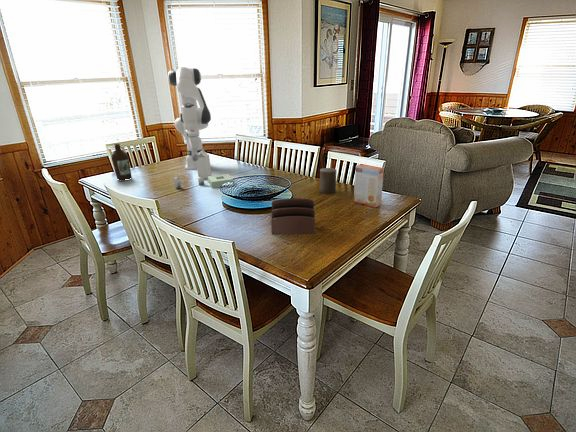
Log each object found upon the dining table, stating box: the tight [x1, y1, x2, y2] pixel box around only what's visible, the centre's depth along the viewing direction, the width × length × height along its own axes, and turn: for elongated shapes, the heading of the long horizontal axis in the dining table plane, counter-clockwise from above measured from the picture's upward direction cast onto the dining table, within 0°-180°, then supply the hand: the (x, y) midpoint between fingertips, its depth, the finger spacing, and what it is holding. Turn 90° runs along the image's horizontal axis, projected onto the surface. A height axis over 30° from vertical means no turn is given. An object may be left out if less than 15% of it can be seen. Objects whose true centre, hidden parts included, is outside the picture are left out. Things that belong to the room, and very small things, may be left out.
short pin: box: [197, 177, 205, 187], centre depth 224 cm, size 4×4×5 cm
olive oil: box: [111, 142, 133, 180], centre depth 235 cm, size 11×11×25 cm
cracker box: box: [353, 163, 385, 209], centre depth 183 cm, size 14×6×21 cm, turn 45°
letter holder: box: [270, 197, 316, 235], centre depth 156 cm, size 10×20×14 cm, turn 90°
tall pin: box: [191, 147, 198, 161], centre depth 215 cm, size 4×4×10 cm
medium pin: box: [173, 176, 182, 190], centre depth 218 cm, size 4×4×7 cm
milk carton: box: [196, 148, 212, 179], centre depth 237 cm, size 7×7×19 cm
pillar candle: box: [319, 167, 337, 195], centre depth 204 cm, size 10×10×15 cm
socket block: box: [207, 173, 234, 189], centre depth 225 cm, size 14×14×4 cm
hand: (194, 153), depth 215 cm, fingers closed on tall pin, 4 cm apart
